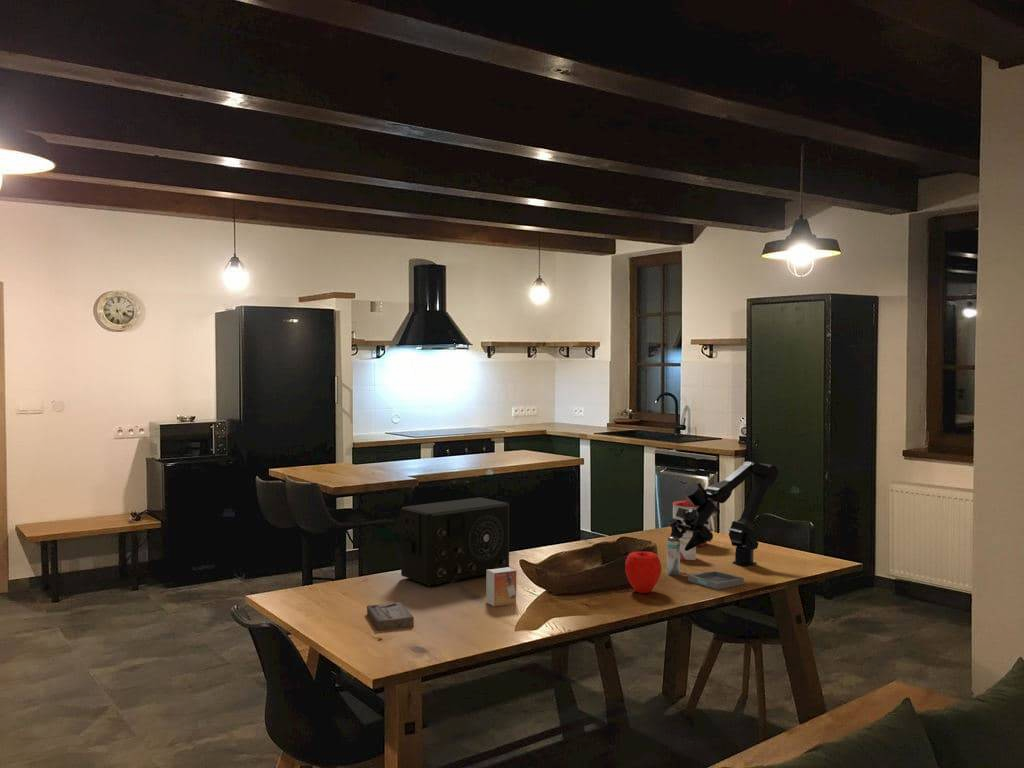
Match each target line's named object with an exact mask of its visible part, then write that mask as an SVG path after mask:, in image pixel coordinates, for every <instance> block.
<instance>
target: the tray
mask: <svg viewBox="0 0 1024 768" xmlns="http://www.w3.org/2000/svg"><path fill="white" fill-rule="evenodd" d="M687 579H688V581H687V582H688V583H691V584H695V585H699V586H702V587H707V588H709V589H714V590H716V591H717V590H724V589H728V588H732V587H736V586H741V585H744V583H745V578H744V577H742V576H737V575H733V574H730V573H726V572H722V571H719V570H716V569H715V570H710V571H704V572H700V573H694V574H689V575H688V578H687Z"/></svg>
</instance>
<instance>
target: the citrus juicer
mask: <svg viewBox="0 0 1024 768" xmlns="http://www.w3.org/2000/svg"><path fill="white" fill-rule="evenodd" d="M697 507H698V506H694V505H693V504H692V503H691V502H690V500H689V499H688V498H686V500H676V501H673V502H672V518H676V519H682V518H680V517H677V516H676V513H677V511H678V508H683V509H687V510H690V509H694V510H695V509H696V508H697ZM715 516H716V515H715V513H714V512H713V514H712V515H711V517H715ZM711 517H710V518H709V519H708V522H709V524H708V525H706V524H705V525H704V526H706V527H707V528H708V529H709V530H710V531H711ZM683 524H686V523H685V522H683ZM705 545H707V543H703V544H701V545H698V546H697V547H704V546H705Z"/></svg>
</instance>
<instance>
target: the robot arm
mask: <svg viewBox="0 0 1024 768" xmlns="http://www.w3.org/2000/svg"><path fill="white" fill-rule="evenodd" d="M779 473H780V472H779V469H778V467H777V466H776V465H774V464H767V463H756V462H754V461H749V460H746V461H744V462H743V463H742V465H740V466H739V467H738V468H737V469H736V470H734V471H733V472H732V473H731V474H729V475H728V476H726V478H724V479H723V480H722V481H718V482H715V483H713V484H711V485H709V486H708V487H707V488H706V489H705V488H704V487H703V486H702V484H701V483H700V482H698V481H695V482H694V483H693V484H690V485H689V486H687V487H686V488H685V489H684V493H683V494H684V496H685V497H686V499H689V500H690V502H691V503H692V504H693V505H694V506H698V507H697V508H696V509H695V510H694V509H690V510H687V509H683V508H678V511H677V513H676V516H677V517H680V518H682V519H683V522H685V523H686V524H685V525H684V524H683V522H682V521H681V520H679V519H676V518H673V517H672V518H671V519H670V520H669V521H668V524H669V527H670V528H671V532H670V536H675V537H679V539H680V538H681V537H683V536H684V535H683V534H684V533H686V531H689V532H693V536H692V538H691V539H690V541H689V542H688V544H687V545H686V547H685V550H686V551H688V550H690V549H692V548H694V547H696V548H697V547H699V546H698V545H701V544H703V543H706V544H707V543H708V542H709V543H710V542H711V541H712V540H713V539H714V534H713V532H712V531H711V529H710V530H709V529H708V528H707V527H706V526H704V525H705V524H706V525H708V524H709V522H708V519H709V518H710V519H711V518H712V516H711V515H712V514H713V513H714V514H715V513H716V514H720V513H721V511H720V505H717V504H715V503H719V504H724V503H726V502H727V500H728V499H730V497H731V496H732V494H733V493H732V492H733V490H735V489H736V488H737V487H739V486H740V485H741V484H742V483H743V482H745V480H747V479H748V478H749V477H751V476H752V475H753V481H754V482H753V483H754V484H753V487H752V489H751V491H750V494H749V496H748V498H747V502H746V504H745V506H744V508H743V512H742V514H741V516H740V518H739V519H738V520H733V521H732V522H731V525H730V527H729V529H728V531H729V532H728V536H729V540H730V543H731V545H732V546H733V547H735V553H734V554H735V557H734V560H733V561H732V564H736V565H740V566H744V567H748V566H752V565H757V561H756V562H755V561H754V550H757V549H758V548H759V542H758V541H757V540H756V538H755V537H754V534H755V527H754V523H755V520H756V517H757V515H758V513H759V510H760V508H761V505H762V503H763V500H764V499H765V495H766V493H767V490H768V489H769V488H771V486H772V485H774V484H775V483H776V481H777V479H778V477H779Z"/></svg>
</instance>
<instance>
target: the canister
mask: <svg viewBox="0 0 1024 768" xmlns="http://www.w3.org/2000/svg"><path fill="white" fill-rule="evenodd" d="M666 575H667V576H674V577H675V576H680V575H681V559H680V540H679V537H675V536H671V535H670V536H668V537H667V539H666Z"/></svg>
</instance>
